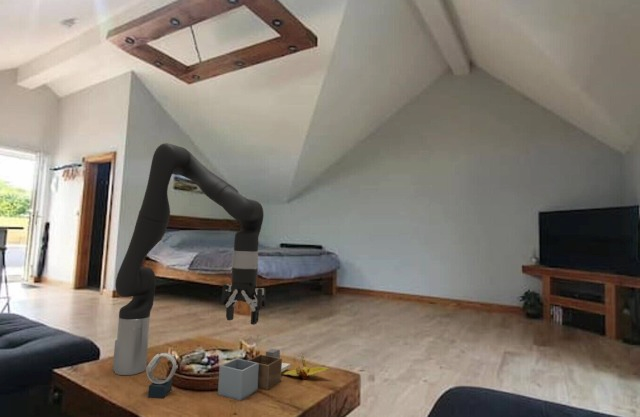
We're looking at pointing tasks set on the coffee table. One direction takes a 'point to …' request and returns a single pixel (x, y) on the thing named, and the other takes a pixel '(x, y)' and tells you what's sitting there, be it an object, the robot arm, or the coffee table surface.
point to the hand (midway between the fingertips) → (241, 322)
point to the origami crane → (305, 370)
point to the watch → (160, 386)
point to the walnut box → (268, 370)
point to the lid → (277, 354)
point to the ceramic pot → (238, 379)
